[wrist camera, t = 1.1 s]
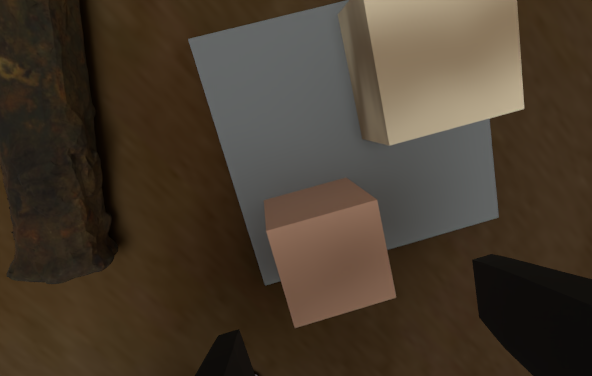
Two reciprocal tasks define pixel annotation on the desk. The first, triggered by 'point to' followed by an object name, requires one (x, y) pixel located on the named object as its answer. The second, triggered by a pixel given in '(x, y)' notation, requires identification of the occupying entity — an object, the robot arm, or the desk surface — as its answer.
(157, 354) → the desk surface
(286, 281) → the terracotta cube
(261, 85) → the rubber mat
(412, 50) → the beech block
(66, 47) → the hand tool
